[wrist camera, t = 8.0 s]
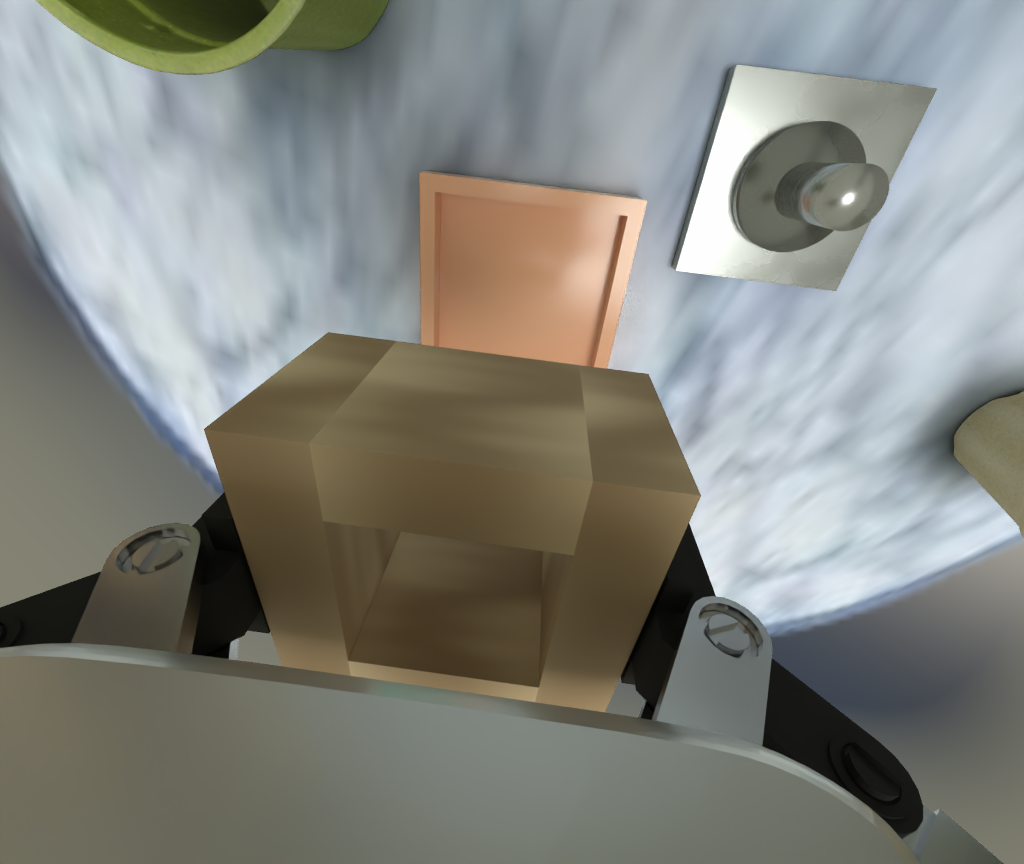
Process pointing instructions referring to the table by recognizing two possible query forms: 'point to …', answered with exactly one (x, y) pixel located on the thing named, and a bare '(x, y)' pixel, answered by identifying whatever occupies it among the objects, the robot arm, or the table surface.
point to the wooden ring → (455, 515)
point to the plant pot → (214, 28)
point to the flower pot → (996, 452)
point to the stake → (795, 174)
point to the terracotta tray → (524, 267)
